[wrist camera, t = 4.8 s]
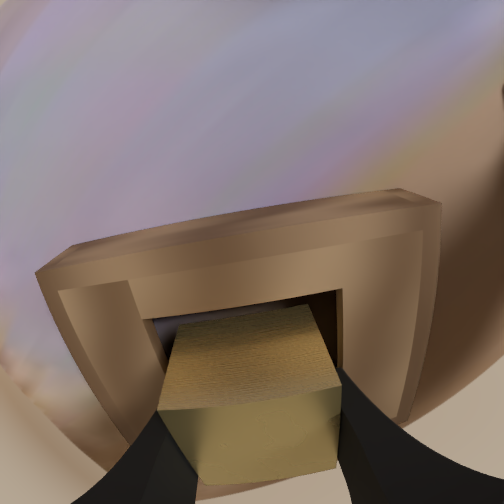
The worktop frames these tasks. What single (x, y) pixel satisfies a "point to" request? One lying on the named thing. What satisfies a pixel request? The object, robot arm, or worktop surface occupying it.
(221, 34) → the worktop surface
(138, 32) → the worktop surface
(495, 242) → the worktop surface
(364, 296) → the brown wooden frame
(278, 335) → the wooden block
